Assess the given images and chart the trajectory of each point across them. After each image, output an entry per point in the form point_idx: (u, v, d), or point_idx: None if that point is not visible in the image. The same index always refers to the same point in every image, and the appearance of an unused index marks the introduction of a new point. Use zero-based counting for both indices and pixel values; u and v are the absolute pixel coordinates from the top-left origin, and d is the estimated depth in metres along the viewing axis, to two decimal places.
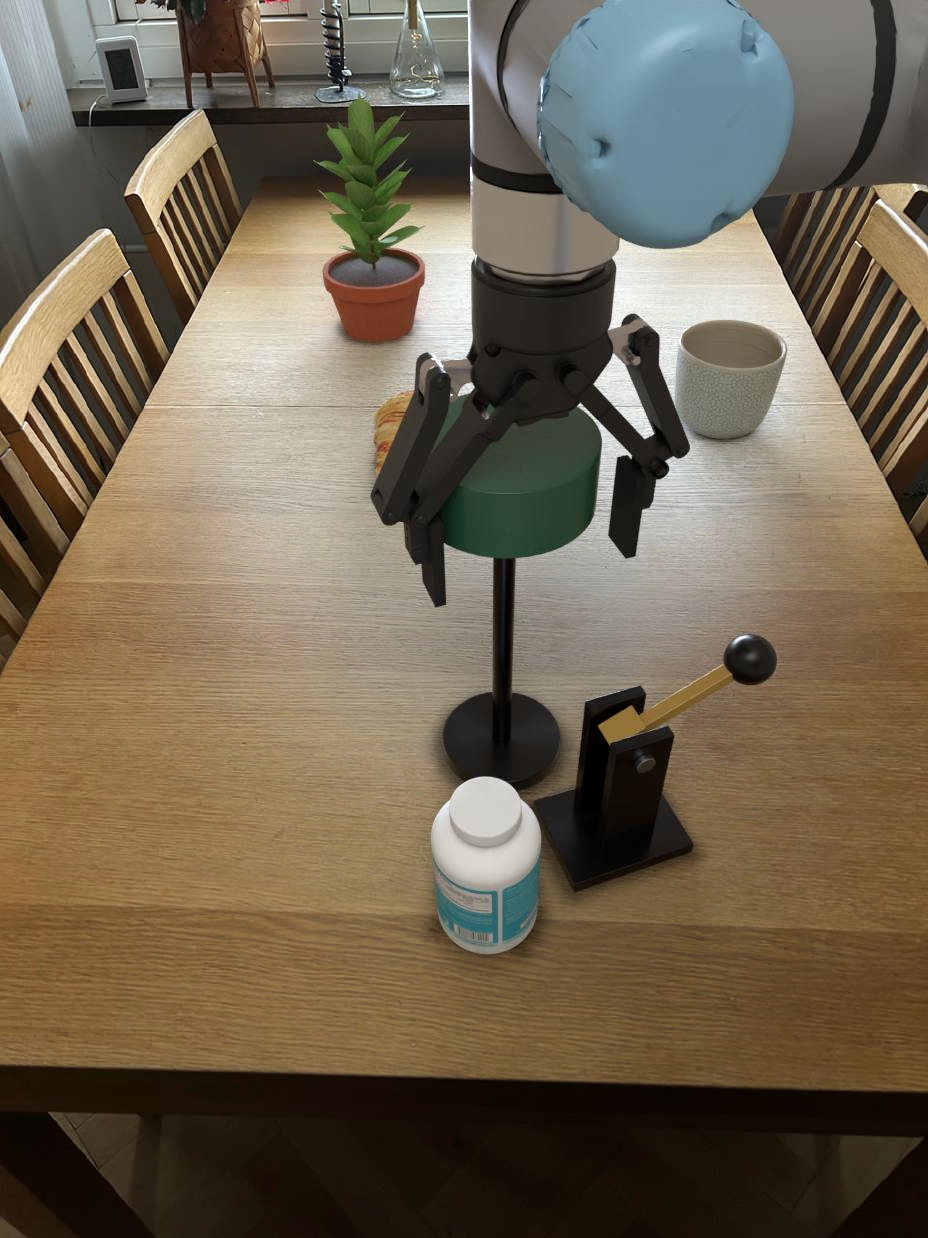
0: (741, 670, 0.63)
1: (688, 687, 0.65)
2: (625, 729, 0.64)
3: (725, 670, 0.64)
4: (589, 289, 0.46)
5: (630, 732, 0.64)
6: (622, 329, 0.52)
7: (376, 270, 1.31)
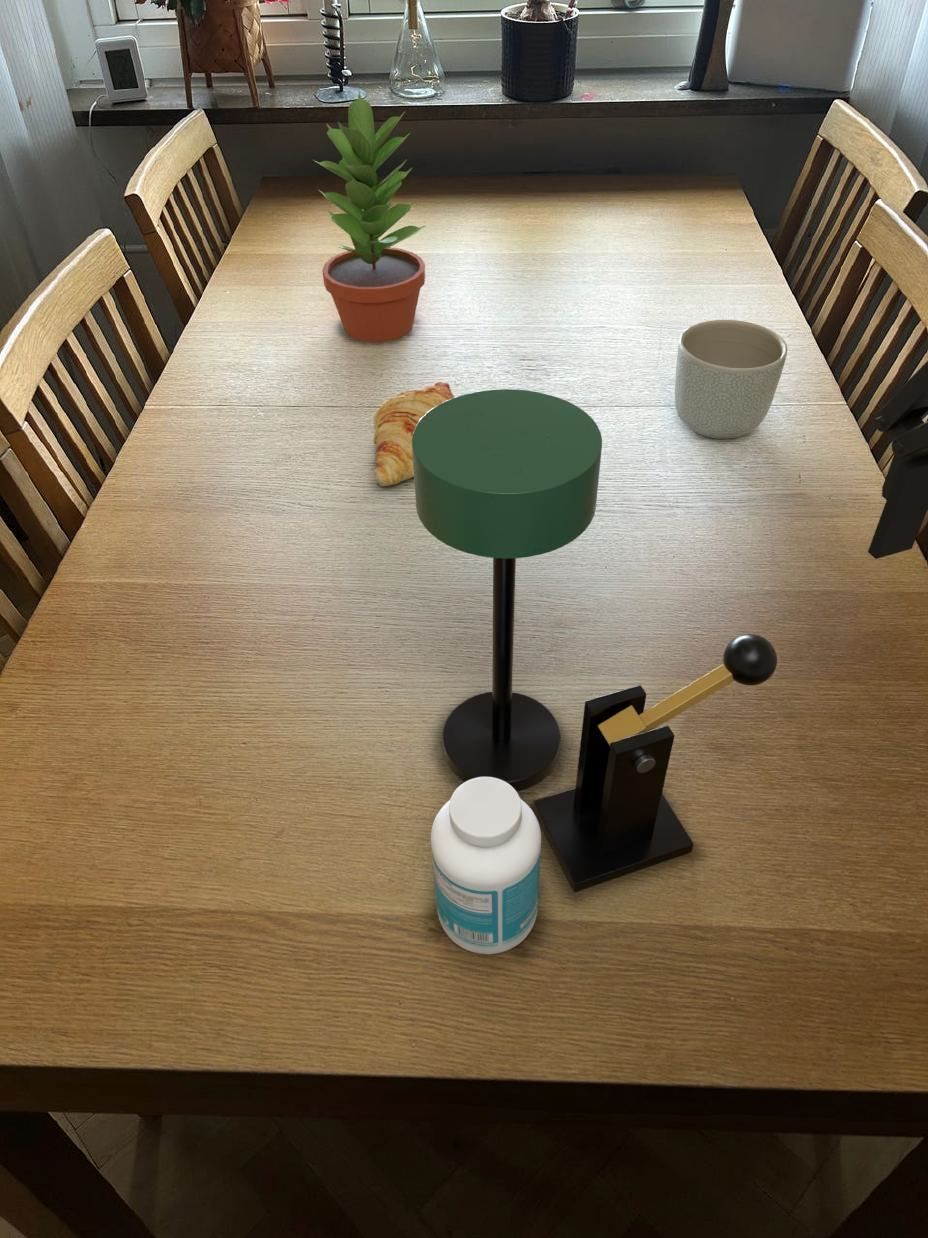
0: (741, 670, 0.63)
1: (688, 687, 0.65)
2: (625, 729, 0.64)
3: (725, 670, 0.64)
4: None
5: (630, 732, 0.64)
6: None
7: (376, 270, 1.31)
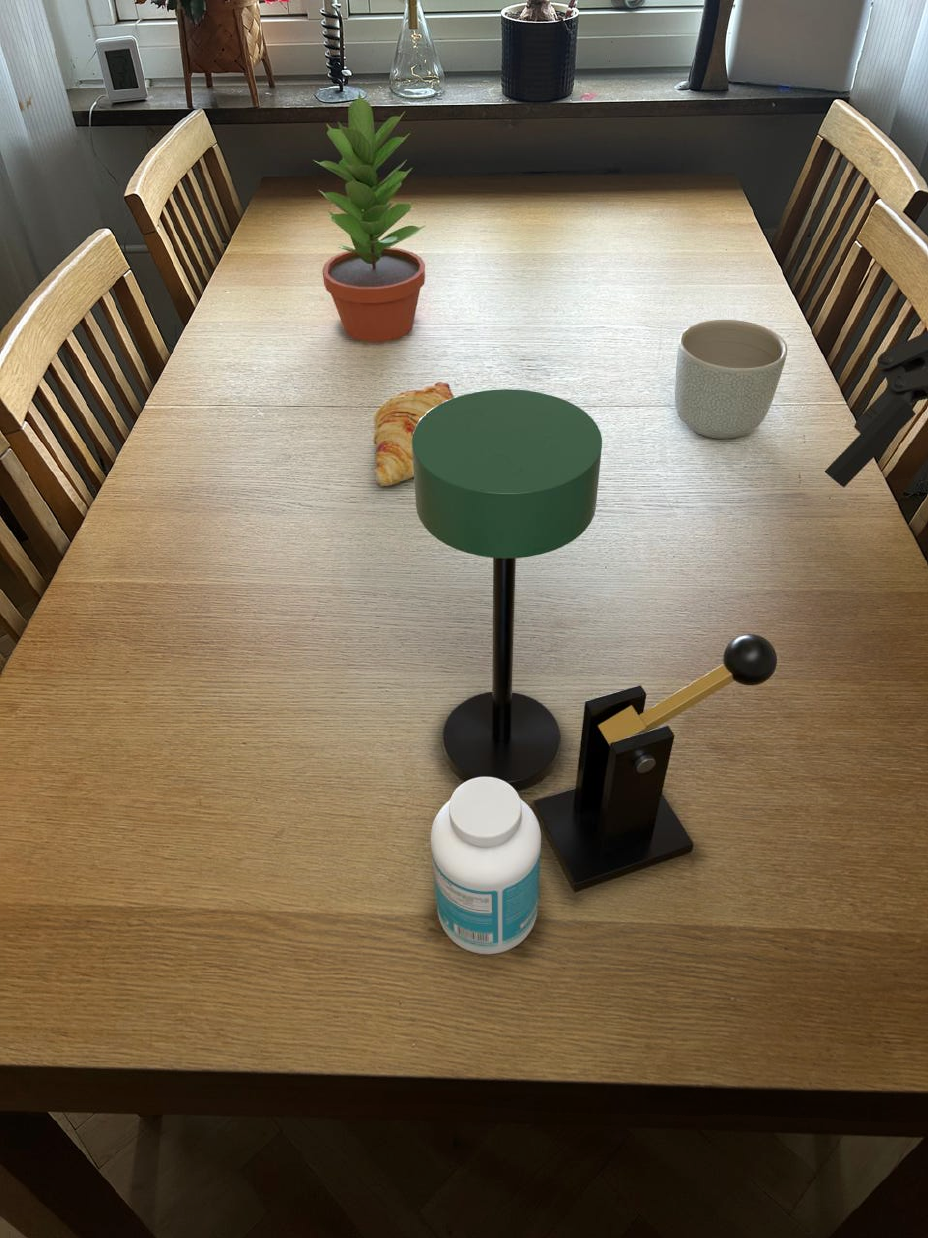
0: (741, 670, 0.63)
1: (688, 687, 0.65)
2: (625, 729, 0.64)
3: (725, 670, 0.64)
4: None
5: (630, 732, 0.64)
6: None
7: (376, 270, 1.31)
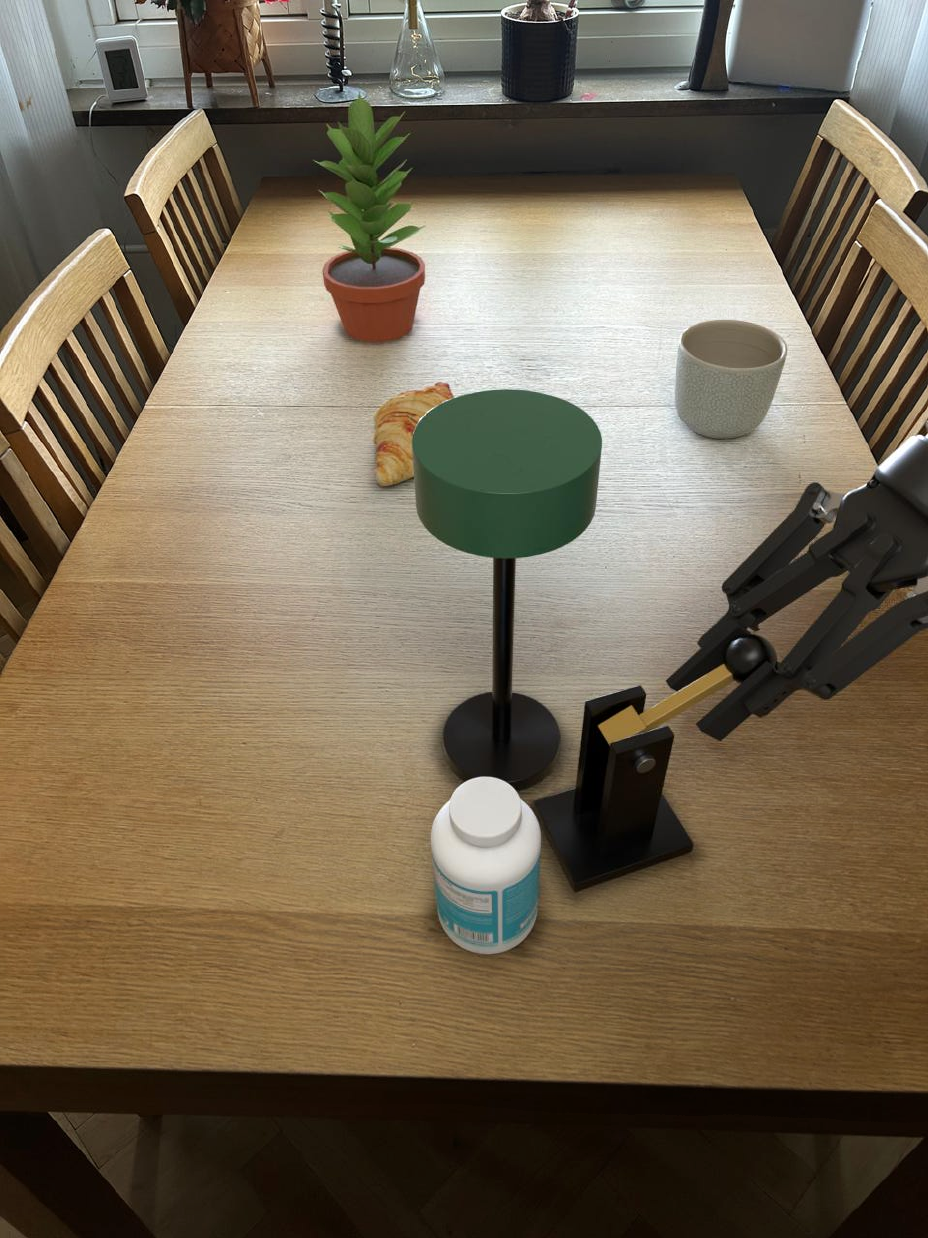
0: (741, 670, 0.63)
1: (688, 687, 0.65)
2: (625, 729, 0.64)
3: (725, 670, 0.64)
4: None
5: (630, 732, 0.64)
6: None
7: (376, 270, 1.31)
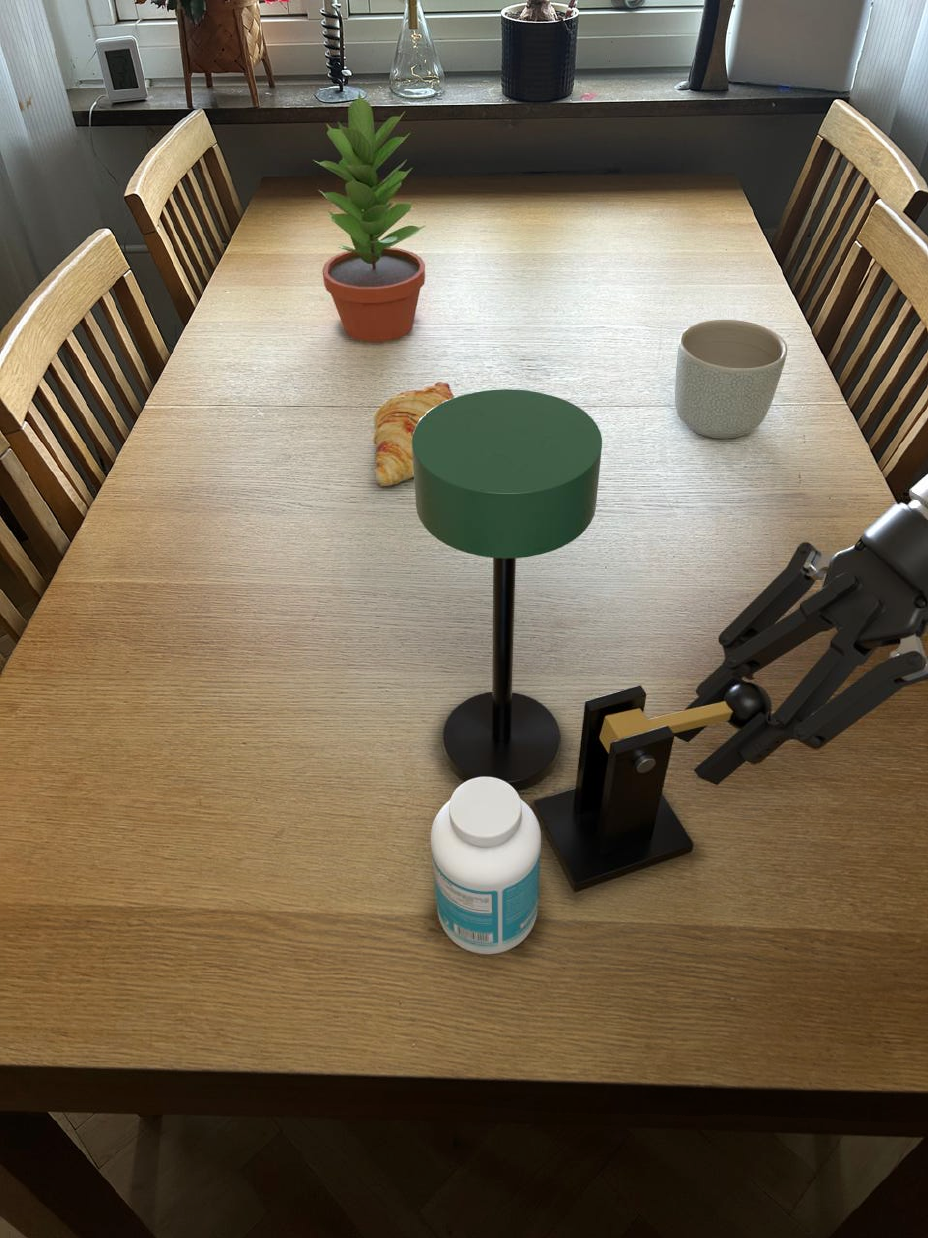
0: (745, 709, 0.67)
1: (691, 710, 0.67)
2: (633, 726, 0.64)
3: (726, 707, 0.67)
4: None
5: (639, 730, 0.64)
6: (922, 649, 0.61)
7: (376, 270, 1.31)
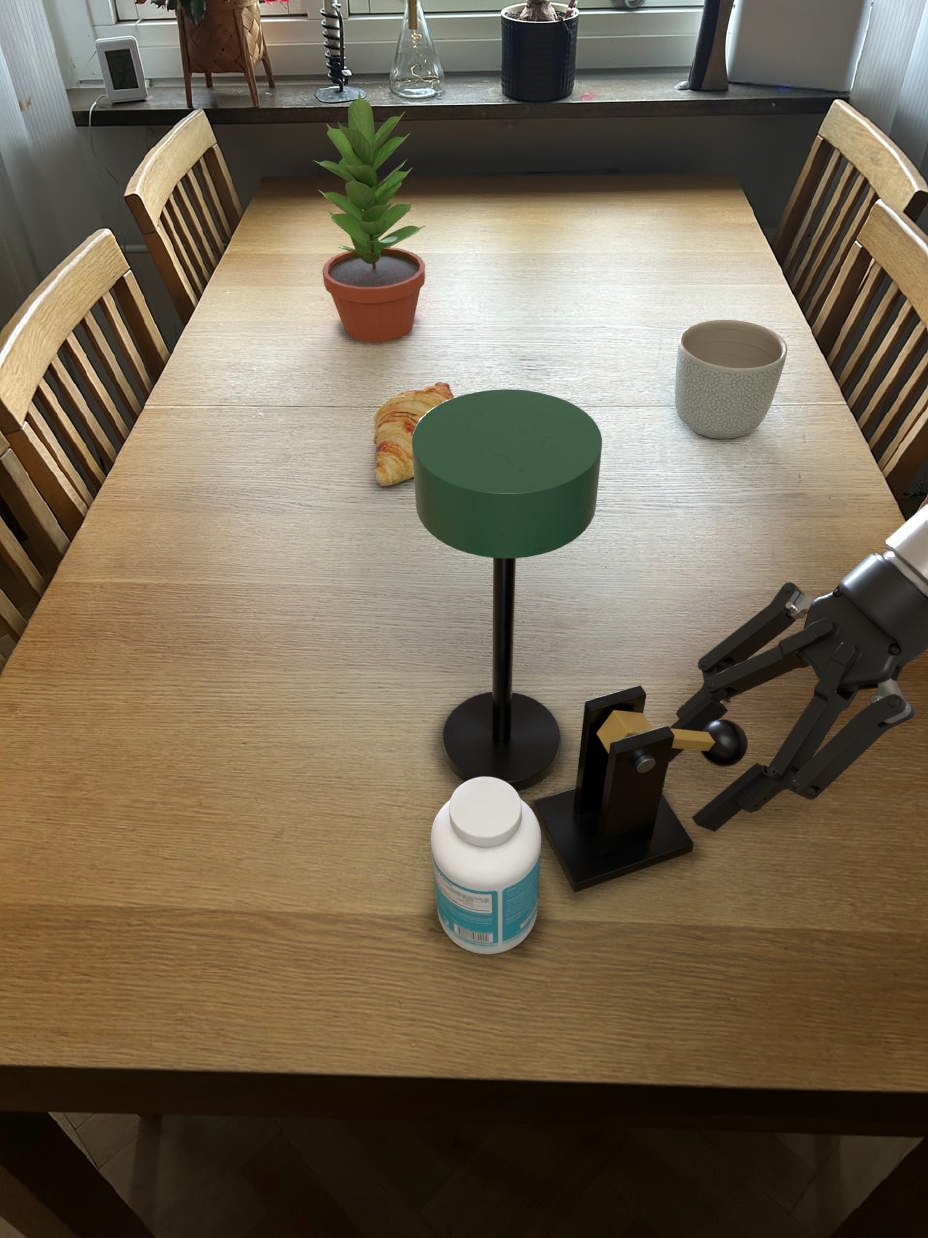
0: (728, 742, 0.69)
1: (681, 731, 0.68)
2: (639, 726, 0.65)
3: (710, 737, 0.69)
4: (902, 581, 0.63)
5: (644, 730, 0.64)
6: (899, 692, 0.64)
7: (376, 270, 1.31)
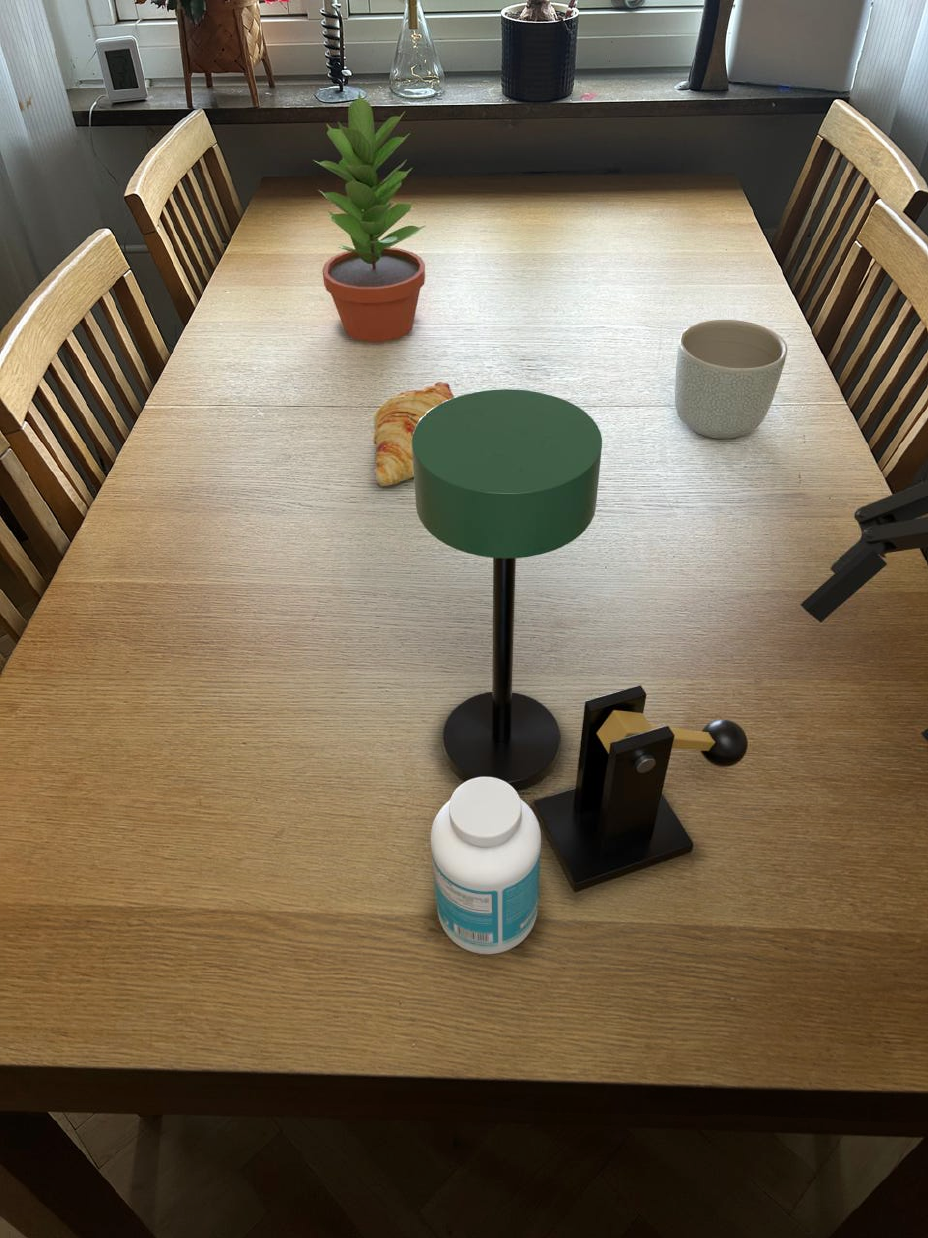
0: (728, 742, 0.69)
1: (681, 731, 0.68)
2: (639, 726, 0.65)
3: (710, 737, 0.69)
4: None
5: (644, 730, 0.64)
6: None
7: (376, 270, 1.31)
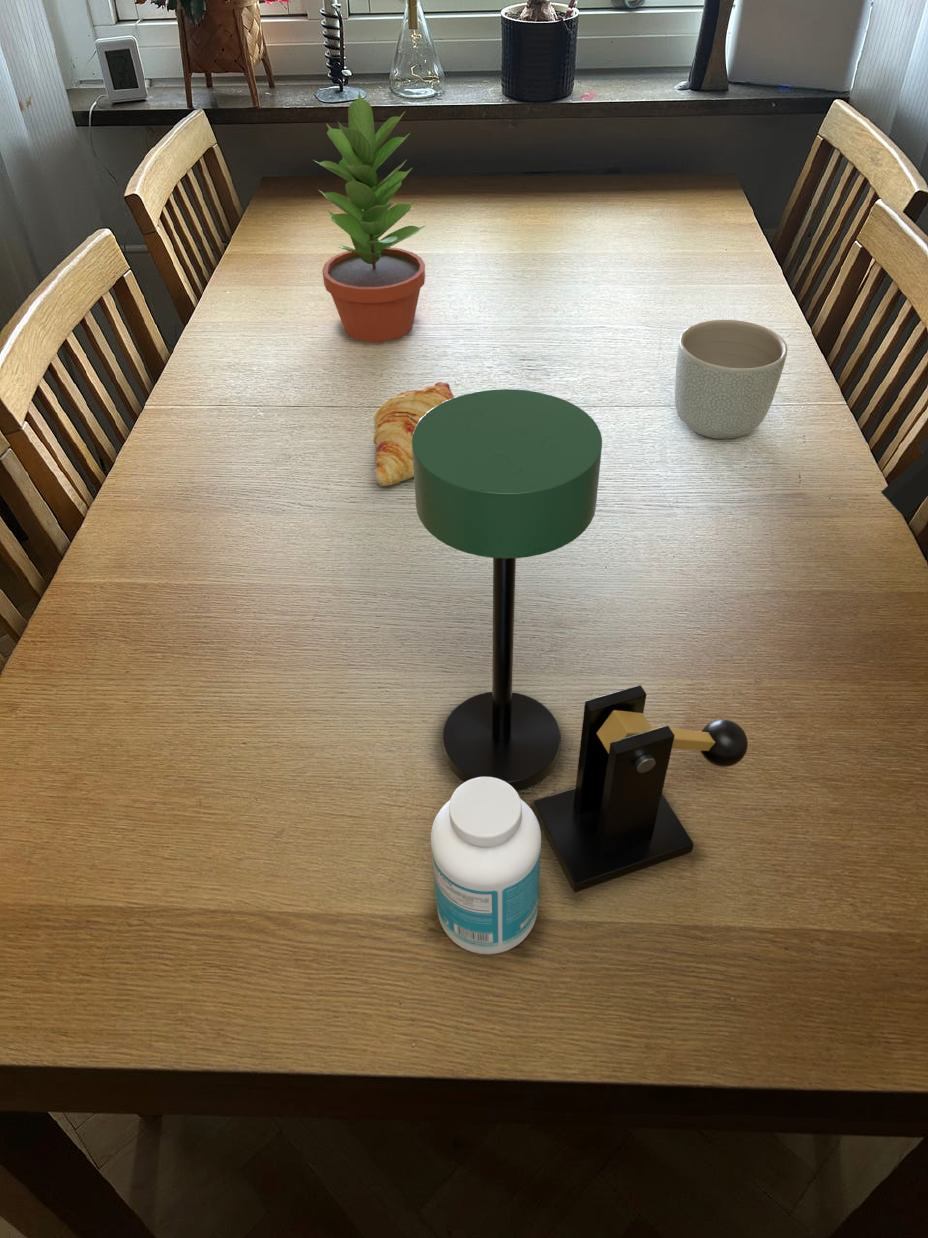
0: (728, 742, 0.69)
1: (681, 731, 0.68)
2: (639, 726, 0.65)
3: (710, 737, 0.69)
4: None
5: (644, 730, 0.64)
6: None
7: (376, 270, 1.31)
